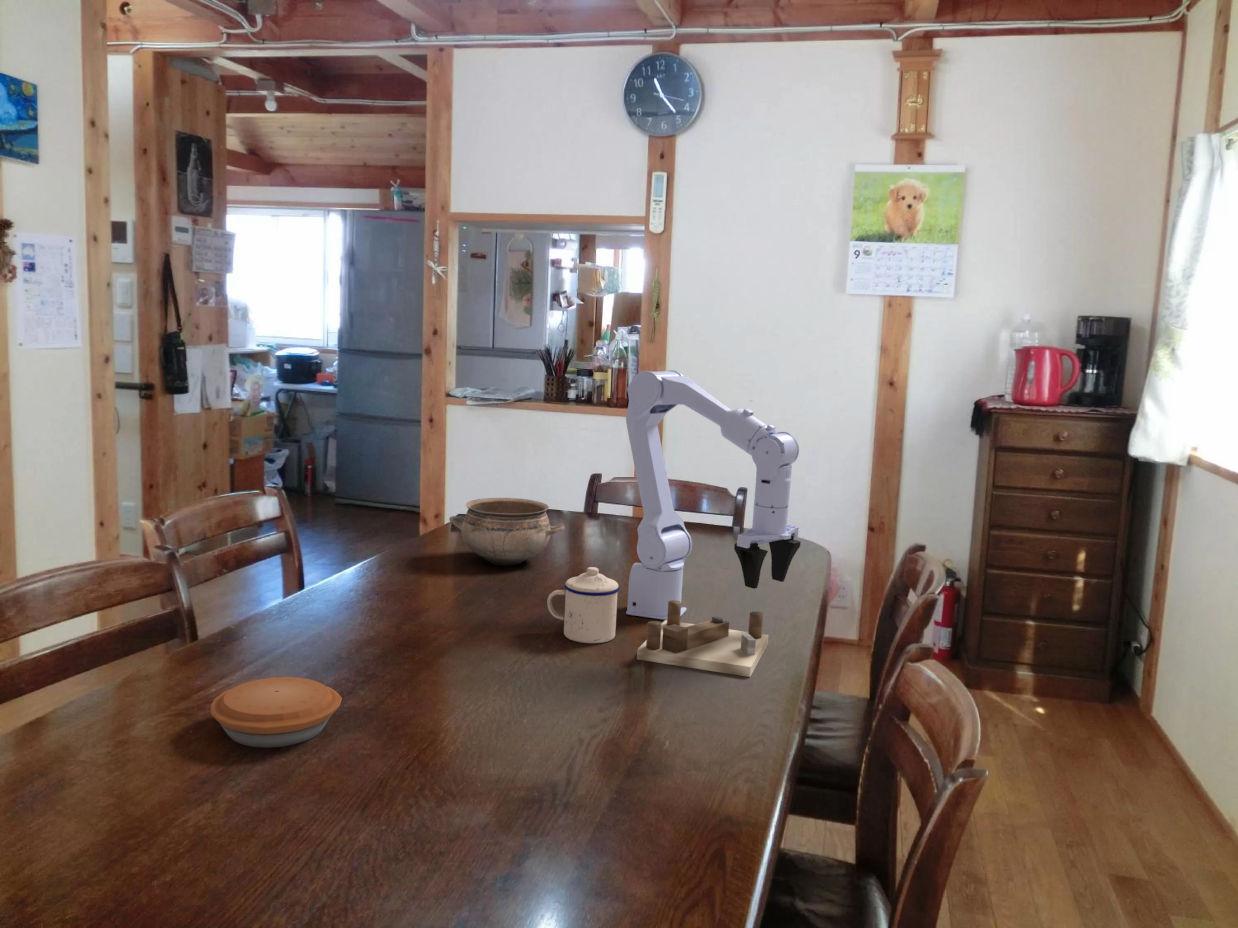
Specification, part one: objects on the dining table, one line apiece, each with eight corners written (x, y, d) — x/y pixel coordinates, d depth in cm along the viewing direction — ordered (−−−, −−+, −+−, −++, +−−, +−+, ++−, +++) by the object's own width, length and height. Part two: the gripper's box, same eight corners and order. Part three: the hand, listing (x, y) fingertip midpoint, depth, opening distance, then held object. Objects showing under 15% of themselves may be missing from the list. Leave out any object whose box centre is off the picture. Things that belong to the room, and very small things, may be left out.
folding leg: (714, 631, 169) (716, 611, 168) (728, 635, 167) (729, 615, 167) (661, 648, 159) (663, 627, 158) (675, 653, 157) (677, 631, 156)
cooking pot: (571, 556, 222) (573, 502, 221) (553, 577, 204) (556, 518, 202) (461, 546, 226) (463, 493, 224) (434, 567, 207) (436, 508, 205)
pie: (266, 768, 116) (267, 727, 115) (183, 732, 124) (182, 693, 123) (366, 725, 129) (367, 688, 128) (284, 696, 137) (285, 660, 136)
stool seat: (636, 659, 158) (638, 624, 157) (664, 628, 174) (666, 597, 174) (750, 676, 153) (752, 641, 152) (767, 644, 169) (770, 611, 168)
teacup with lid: (620, 630, 172) (624, 564, 171) (611, 647, 163) (615, 577, 162) (552, 623, 174) (555, 557, 173) (539, 639, 165) (542, 570, 164)
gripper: (764, 513, 160) (757, 596, 162) (815, 504, 171) (808, 582, 173) (729, 505, 165) (723, 585, 167) (781, 497, 175) (775, 573, 177)
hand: (764, 583), depth 170 cm, fingers open, 7 cm apart
